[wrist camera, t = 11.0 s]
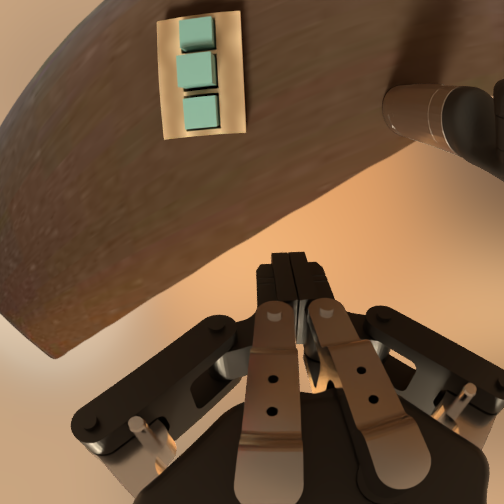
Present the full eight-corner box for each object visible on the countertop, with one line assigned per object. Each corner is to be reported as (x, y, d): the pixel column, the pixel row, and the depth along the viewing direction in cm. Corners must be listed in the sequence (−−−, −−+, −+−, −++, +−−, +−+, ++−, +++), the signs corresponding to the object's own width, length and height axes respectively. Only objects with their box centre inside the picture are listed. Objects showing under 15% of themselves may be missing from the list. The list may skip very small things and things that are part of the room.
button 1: (216, 26, 34) (211, 16, 29) (217, 51, 36) (212, 43, 31) (187, 30, 34) (178, 20, 29) (188, 54, 36) (179, 47, 31)
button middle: (215, 58, 35) (210, 51, 30) (217, 85, 37) (212, 82, 32) (185, 61, 35) (176, 55, 30) (187, 89, 37) (177, 87, 32)
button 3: (219, 96, 40) (214, 95, 35) (221, 123, 42) (216, 126, 37) (191, 99, 40) (182, 98, 35) (193, 126, 42) (185, 129, 37)
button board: (240, 18, 34) (240, 10, 30) (246, 130, 43) (245, 132, 39) (163, 27, 34) (155, 22, 30) (169, 136, 43) (162, 139, 39)
